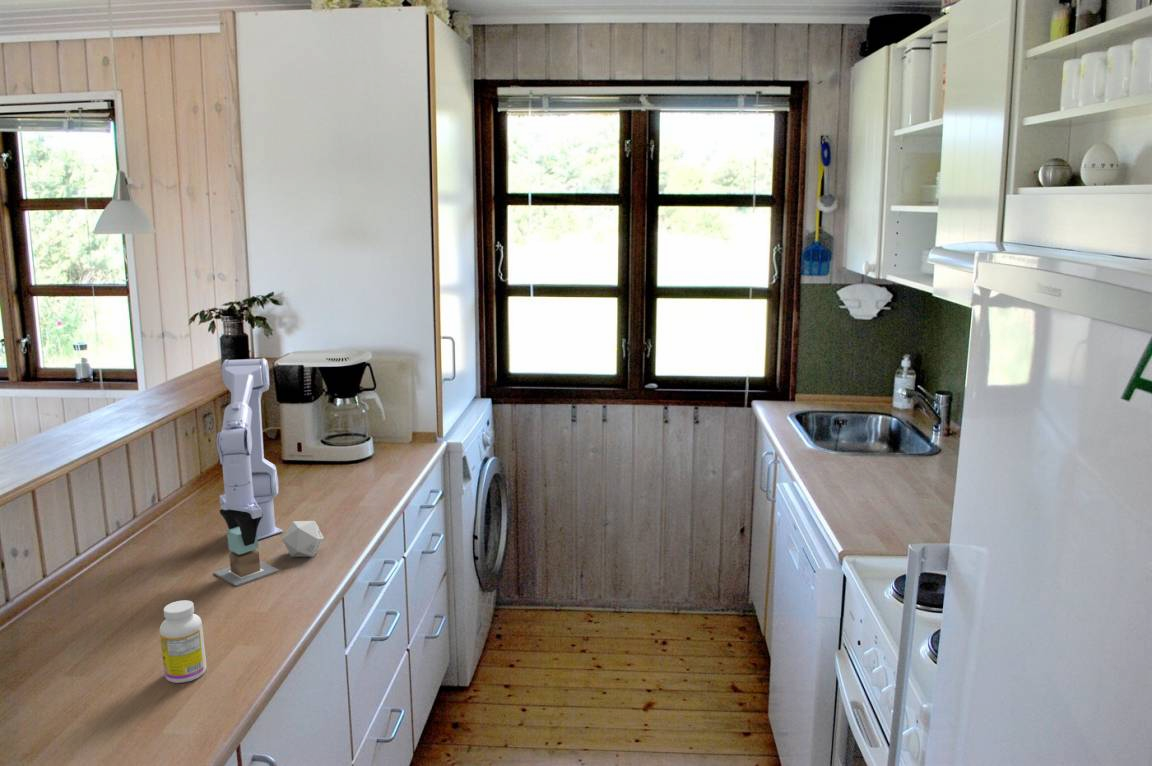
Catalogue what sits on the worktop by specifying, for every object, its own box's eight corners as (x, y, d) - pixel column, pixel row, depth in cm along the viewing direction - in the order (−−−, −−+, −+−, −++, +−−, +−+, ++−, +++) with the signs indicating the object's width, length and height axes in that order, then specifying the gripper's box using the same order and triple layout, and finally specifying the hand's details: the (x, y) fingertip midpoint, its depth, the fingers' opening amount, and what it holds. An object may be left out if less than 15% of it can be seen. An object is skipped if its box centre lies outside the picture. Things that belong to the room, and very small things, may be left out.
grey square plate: (213, 573, 188) (213, 571, 188) (255, 559, 196) (255, 557, 196) (236, 586, 182) (236, 584, 182) (279, 571, 189) (278, 569, 189)
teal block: (228, 549, 187) (226, 530, 186) (247, 543, 191) (246, 524, 190) (239, 554, 185) (237, 535, 184) (258, 548, 188) (256, 529, 187)
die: (301, 567, 193) (325, 530, 194) (270, 547, 194) (294, 511, 195) (312, 565, 201) (335, 530, 202) (282, 546, 202) (304, 511, 203)
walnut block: (230, 571, 189) (229, 552, 188) (249, 565, 192) (248, 546, 191) (241, 577, 186) (239, 557, 185) (260, 570, 189) (258, 551, 188)
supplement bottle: (173, 664, 151) (166, 598, 149) (212, 663, 152) (205, 596, 149) (158, 685, 145) (150, 616, 142) (199, 683, 145) (191, 614, 143)
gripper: (204, 480, 186) (210, 538, 189) (237, 494, 177) (243, 555, 180) (234, 472, 191) (240, 529, 194) (268, 485, 182) (273, 545, 185)
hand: (243, 541), depth 187 cm, fingers closed on teal block, 4 cm apart
